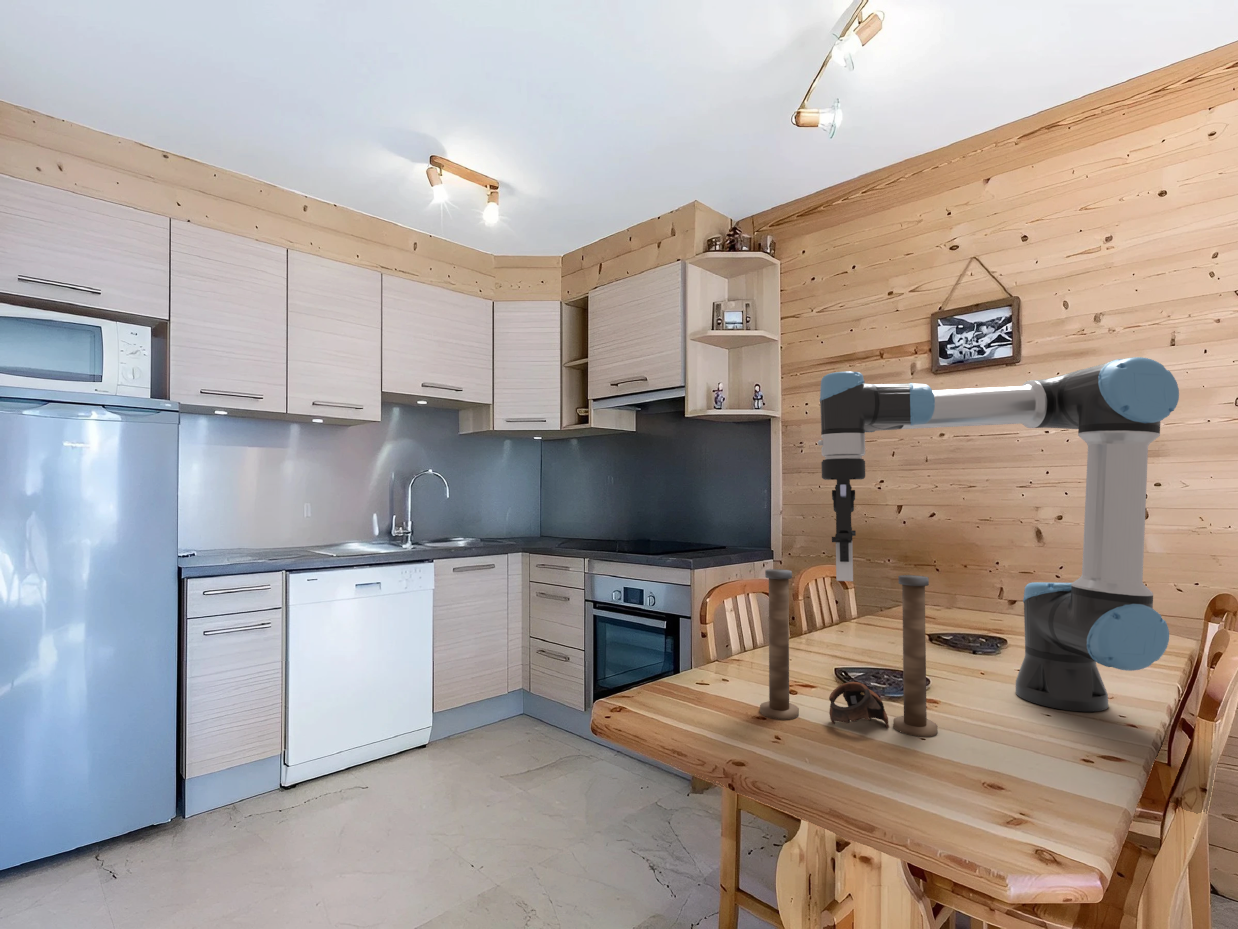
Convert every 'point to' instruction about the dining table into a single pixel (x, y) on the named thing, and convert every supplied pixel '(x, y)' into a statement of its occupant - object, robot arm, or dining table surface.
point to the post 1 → (779, 648)
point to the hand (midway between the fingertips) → (845, 575)
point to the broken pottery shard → (856, 704)
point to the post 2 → (914, 659)
